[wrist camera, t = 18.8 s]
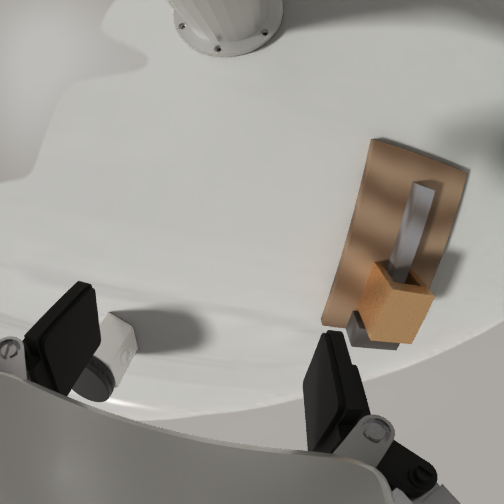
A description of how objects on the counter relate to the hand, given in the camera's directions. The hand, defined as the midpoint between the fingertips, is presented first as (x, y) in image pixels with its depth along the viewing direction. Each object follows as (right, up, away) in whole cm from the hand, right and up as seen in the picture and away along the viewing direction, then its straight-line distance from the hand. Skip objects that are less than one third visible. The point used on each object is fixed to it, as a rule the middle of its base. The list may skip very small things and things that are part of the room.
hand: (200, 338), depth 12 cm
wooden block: (+20, -2, +26) cm, 33 cm away
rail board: (+21, +4, +26) cm, 33 cm away
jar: (-20, -10, +34) cm, 41 cm away
